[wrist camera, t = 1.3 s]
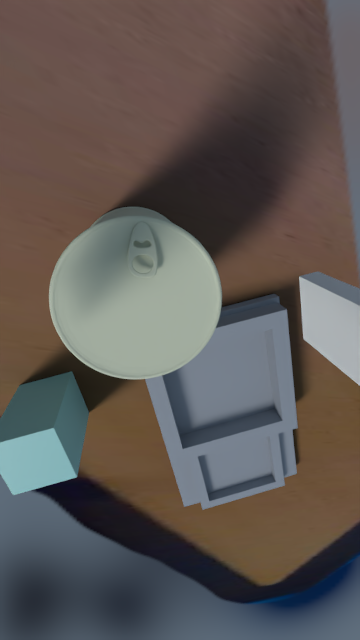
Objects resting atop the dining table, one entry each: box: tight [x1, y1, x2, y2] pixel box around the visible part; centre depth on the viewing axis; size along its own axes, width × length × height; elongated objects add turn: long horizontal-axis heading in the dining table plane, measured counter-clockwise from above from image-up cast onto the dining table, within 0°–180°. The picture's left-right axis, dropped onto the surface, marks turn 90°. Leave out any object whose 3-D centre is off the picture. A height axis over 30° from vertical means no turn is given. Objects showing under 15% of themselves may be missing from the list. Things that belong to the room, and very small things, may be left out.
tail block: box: [0, 371, 89, 495], centre depth 27 cm, size 5×5×8 cm
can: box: [49, 207, 222, 379], centre depth 22 cm, size 9×9×12 cm
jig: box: [145, 294, 298, 509], centre depth 33 cm, size 23×14×3 cm, turn 12°
